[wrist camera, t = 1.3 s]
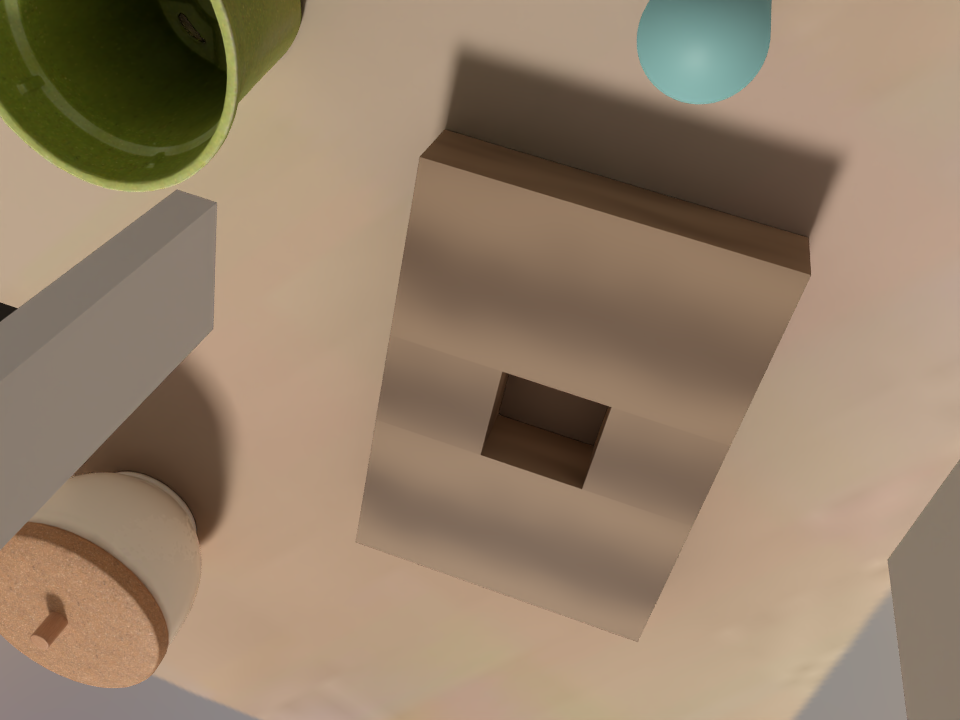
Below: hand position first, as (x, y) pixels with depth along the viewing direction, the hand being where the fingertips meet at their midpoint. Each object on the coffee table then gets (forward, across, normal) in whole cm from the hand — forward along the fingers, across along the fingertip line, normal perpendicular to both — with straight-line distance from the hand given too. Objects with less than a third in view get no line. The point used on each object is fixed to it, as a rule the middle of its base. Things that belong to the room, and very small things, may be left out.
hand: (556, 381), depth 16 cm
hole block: (+19, 0, -15) cm, 24 cm away
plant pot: (+20, -16, -2) cm, 26 cm away
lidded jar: (+19, -20, -32) cm, 42 cm away
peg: (+19, +1, +3) cm, 20 cm away
